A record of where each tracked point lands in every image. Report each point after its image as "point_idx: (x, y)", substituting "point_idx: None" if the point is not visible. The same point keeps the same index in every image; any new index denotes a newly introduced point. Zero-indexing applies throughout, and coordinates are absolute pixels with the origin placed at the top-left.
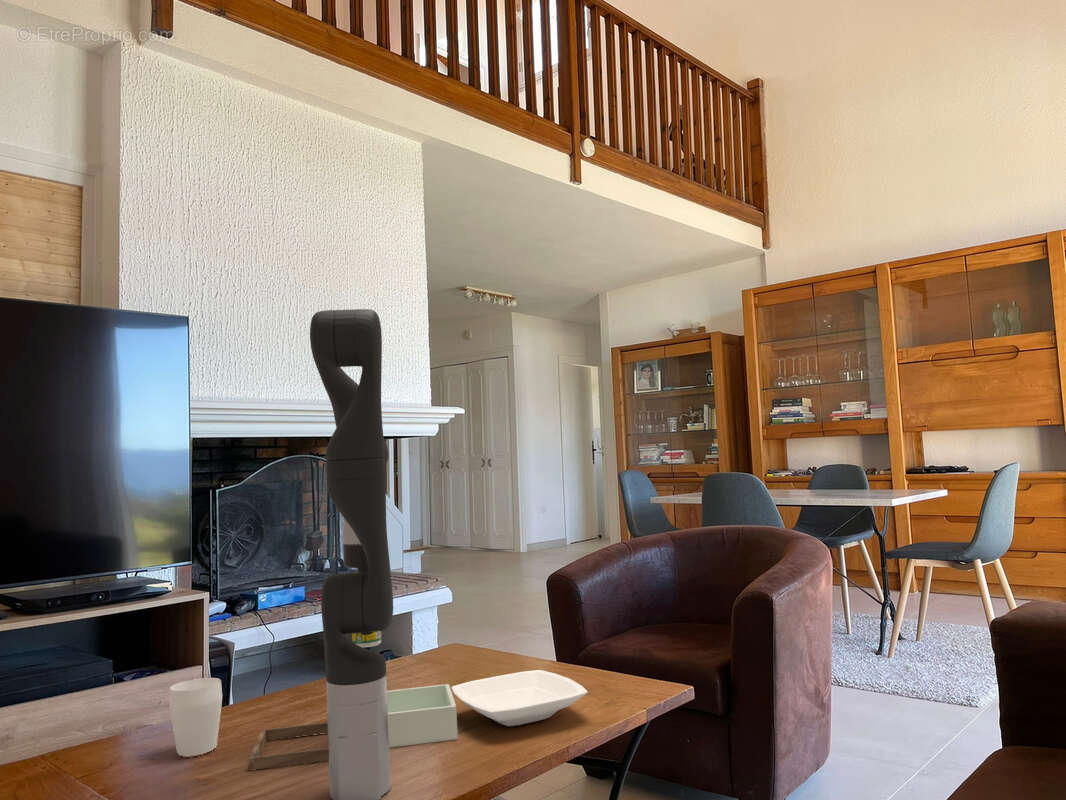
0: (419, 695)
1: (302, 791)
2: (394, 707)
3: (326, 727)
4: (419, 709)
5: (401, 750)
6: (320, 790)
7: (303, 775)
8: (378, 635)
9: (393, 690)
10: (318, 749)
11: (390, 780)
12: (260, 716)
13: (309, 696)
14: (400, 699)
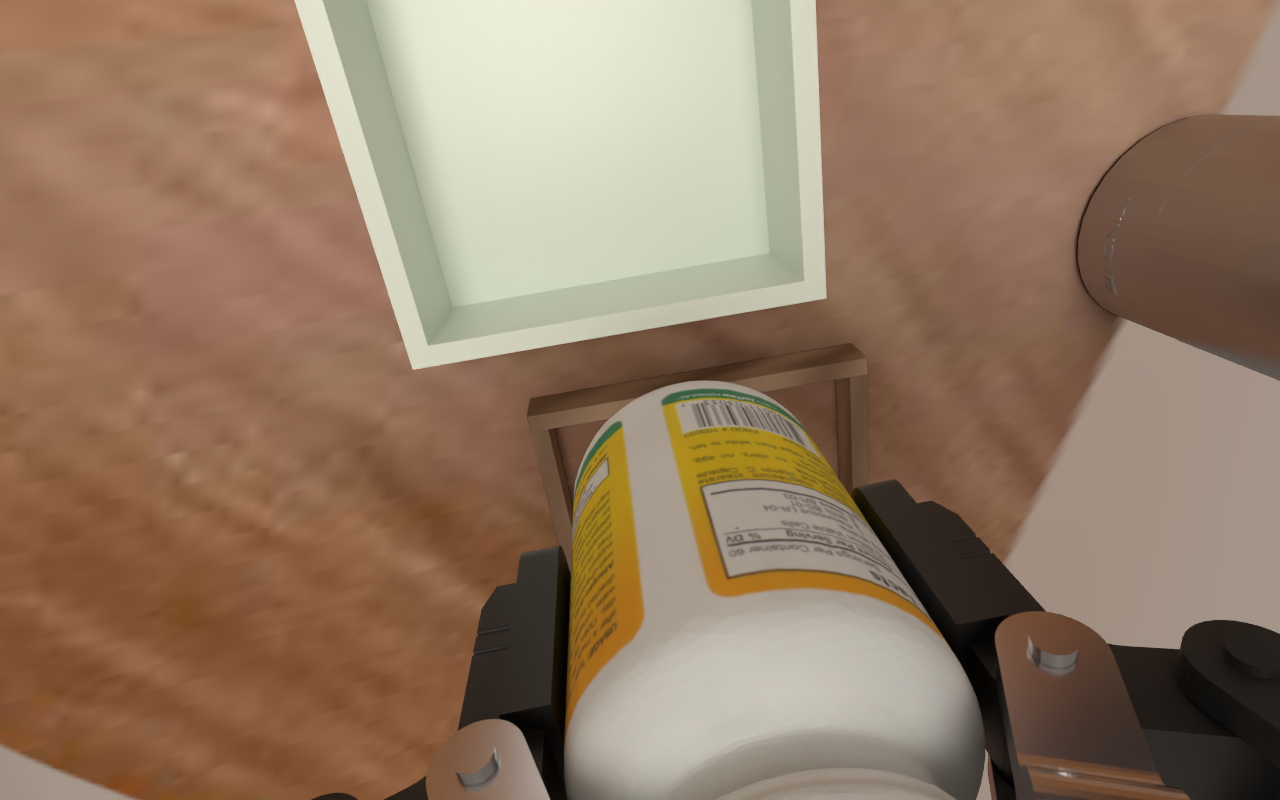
0: (360, 82)
1: (1080, 407)
2: (415, 225)
3: (561, 477)
4: (797, 28)
5: (824, 127)
6: (1098, 356)
7: (950, 438)
8: (779, 421)
9: (382, 245)
10: (860, 440)
11: (1223, 115)
12: (328, 722)
13: (59, 644)
14: (398, 197)
